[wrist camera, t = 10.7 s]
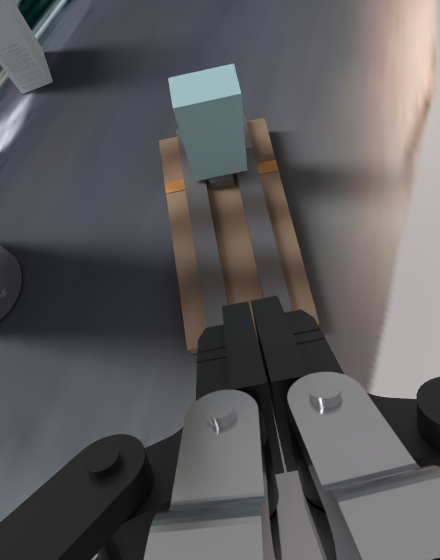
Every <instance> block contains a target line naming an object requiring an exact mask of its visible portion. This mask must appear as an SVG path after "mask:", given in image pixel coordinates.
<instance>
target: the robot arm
mask: <svg viewBox="0 0 440 560" xmlns="http://www.w3.org/2000/svg"><path fill="white" fill-rule="evenodd" d="M21 283H22V273H21V268H20V265H19V263H18V261H17V260H16V258H15V257H14V256H13V255H12V254H11V253H10V252H9V251H8V250H6V249H5V248H3V247H2V246H1V245H0V320H1V319H2V318H3V317H4V316H5V315H6V314H7V313H8V312H9V310H10V309H11V308H12V306H13V305H14V303H15V301H16V300H17V297H18V295H19V292H20V289H21ZM251 306H252V311H253V317H254V322H255V327H256V332H255V327H254V323H253V319H252V314H251V310H250V306H249V302H248V301H246V302H241V303H236V304H231V305H226V306H222V313H223V325H218V326H212V327H207V328H205V330H204V331H203V333H202V334H201V336H200V337H199V339H198V350H197V352H198V354H197V364H198V365H197V385H196V402H195V403H194V404H193V405H192V406H191V407H190V408H189V410H188V411H187V413H186V416H185V420H184V426H183V428H182V429H181V430H179V431H178V432H177V433H175V434H174V435H172V436H170V437H168V438H166V439H164V440H162V441H160V442H157V443H155V444H153V445H151V446H148V447H146V448H144V446H143V444H142V443H141V442H140V441H139V439H137V438H135V437H133V436H130V435H125V434H118V435H112V436H108V437H105V438H102V439H100V440H98V441H96V442H94V443H92V444H90V445H89V446H87V447H86V448H85V449H83V450H82V451H81V452H80V453H79V454H78V455H76V456H75V457H74V458H73V459H72V460H71V461H70V462H68V463H67V464H66V465H65V466H64V467H63V468H62V469H61V470H59V471H58V472H57V473H56V474H55V475H54V476H53V477H51V478H50V479H49V480H48V481H47V482H46V483H45V484H44V485H42V486H41V487H40V488H39V489H38V490H37V491H36V492H34V493H33V494H32V495H31V496H30V497H29V498H28V499H26V500H25V501H24V502H23V503H22V504H21V505H20V506H19V507H17V508H16V509H15V510H14V511H13V512H12V513H11V514H9V515H8V516H7V517H6V518H5V519H4V520H3V521H2V522H0V560H91V559H92V558H93V557H94V556H95V555H96V554H98V557H97V558H96V559H95V560H284V555H283V545H282V536H281V526H280V516H279V510H278V505H277V504H278V499H279V493H278V487H277V482H276V477H275V474H280V473H284V470H283V464H282V459H281V453H280V448H279V443H278V437H277V432H276V426H275V421H276V425H277V430H278V434H279V438H280V443H281V447H282V451H283V456H284V460H285V464H286V469H287V472H290V471H295V470H298V474H299V478H300V481H301V485H302V491H303V497H304V503H305V507H306V511H307V513H308V516H309V519H310V522H311V525H312V528H313V531H314V534H315V537H316V540H317V543H318V546H319V549H320V551H321V554H322V557H323V560H440V377H437V378H434V379H431V380H429V381H427V382H425V383H424V384H423V385H422V386H421V387H420V388H419V390H418V393H417V399H400V398H386V397H380V396H375V395H372V394H368V393H366V392H365V390H364V389H363V387H362V386H361V385H360V384H359V383H358V382H357V381H356V380H354V379H353V378H351V377H349V376H347V375H344V373H343V371H342V369H341V367H340V365H339V363H338V362H337V360H336V358H335V356H334V354H333V352H332V350H331V348H330V347H329V345H328V343H327V341H326V340H325V337H324V335H323V333H322V332H321V331H320V328H319V326H318V324H317V322H316V320H315V318H314V317H313V316H311V315H309V314H308V313H306V312H304V311H303V310H301V309H300V310H295V311H290V312H285V313H284V310H283V308H282V305H281V303H280V300H279V298H278V296H272V297H267V298H261V299H256V300H251ZM256 333H257V336H256ZM257 338H258V340H257ZM258 343H259V344H258ZM271 404H272V405H271ZM272 408H273V410H272ZM273 412H274V416H273ZM274 417H275V421H274Z"/></svg>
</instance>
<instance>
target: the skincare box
mask: <svg viewBox="0 0 440 560" xmlns="http://www.w3.org/2000/svg"><path fill="white" fill-rule="evenodd" d="M0 65H1V66H2V68H3V69H4V70H5V72H6V73H7V74H8V76H9V77H10V79H11V80H12V81H13V83H14V84H15V85H16V87H17V88H18V89H19V91H20V92H21V93H22V94H25V93H27V92H30V91H32V90H34V89H37V88H40V87H42V86H45V85H47V84H50V83H52V82H53V80H52V77H51V74H50V71H49V68H48V65H47V61H46V58H45V55H44V52H43V50H42V48H41V46H40V45H39V43H38V41H37V40H36V38H35V36H34V35H33V33H32V31H31V30H30V28H29V26H28V25H27V23H26V21H25V20H24V18H23V16H22V15H21V13H20V11H19V10H18V8H17V6H16V5H15V3H14V1H13V0H0Z"/></svg>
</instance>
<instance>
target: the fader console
mask: <svg viewBox="0 0 440 560" xmlns="http://www.w3.org/2000/svg"><path fill="white" fill-rule="evenodd" d="M243 123H244V135H245V147H246V159H247V171H242V172H237V173H233V178H234V186H230V187H225V188H220V189H215V190H212V189H211V185H210V180H209V179H204V180H199V181H194V178H193V175H192V171H191V168H190V165H189V161H188V158H187V154H186V151H185V148H184V144H183V141H182V137H181V134H180V131H179V129H176V133H177V137H173V138H168V139H164V140H159V144H160V152H161V159H162V166H163V174H164V181H165V190H166V196H167V203H168V211H169V218H170V226H171V233H172V240H173V248H174V255H175V263H176V270H177V277H178V285H179V292H180V300H181V307H182V315H183V322H184V329H185V337H186V344H187V350H188V351H189V352H190V353H191V354H197V353H198V352H197V350H198V339H199V337H200V336H201V334H202V333H203V331H204V330H205V328H207V327H212V326H218V325H223V313H222V306H226V305H231V304H236V303H241V302H246V301H248V302H249V306H250V310H251V314H252V319H253V323H254V327H255V322H254V317H253V311H252V306H251V300H256V299H261V298H267V297H272V296H278V298H279V300H280V303H281V305H282V308H283V310H284V313H285V312H290V311H295V310H300V309H301V310H303V311H304V312H306V313H308V314H309V315H311V316H313V317H314V318H315V320H316V322H317V324H318V326H319V325H320V324H319V320H318V316H317V312H316V309H315V305H314V301H313V298H312V294H311V290H310V286H309V283H308V279H307V275H306V271H305V268H304V264H303V260H302V256H301V253H300V249H299V245H298V241H297V238H296V234H295V230H294V226H293V223H292V219H291V215H290V211H289V208H288V204H287V200H286V197H285V193H284V189H283V185H282V182H281V178H280V174H279V170H278V166H277V162H276V159H275V155H274V152H273V148H272V144H271V140H270V137H269V133H268V129H267V125H266V122H265V118H262V119H257V120H252V121H248V122H246V119H245V115H243ZM255 332H256V327H255ZM256 336H257V333H256ZM257 340H258V338H257Z"/></svg>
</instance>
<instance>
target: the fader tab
mask: <svg viewBox="0 0 440 560" xmlns="http://www.w3.org/2000/svg"><path fill="white" fill-rule="evenodd" d="M168 80H169V86H170V93H171V99H172V105H173V110H174V114H175V117H176V120H177V124H178V127H179V131H180V134H181V137H182V141H183V144H184V148H185V151H186V154H187V158H188V161H189V165H190V168H191V171H192V175H193V178H194V181H199V180H204V179H209V180H210V185H211V189H212V190H215V189H220V188H225V187H230V186H234V178H233V173H237V172H242V171H247V159H246V147H245V135H244V123H243V111H242V99H241V91H240V87H239V83H238V79H237V75H236V71H235V67H234V64H230V65H225V66H221V67H216V68H212V69H207V70H203V71H198V72H194V73H189V74H185V75H180V76H176V77H171V78H168Z"/></svg>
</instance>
